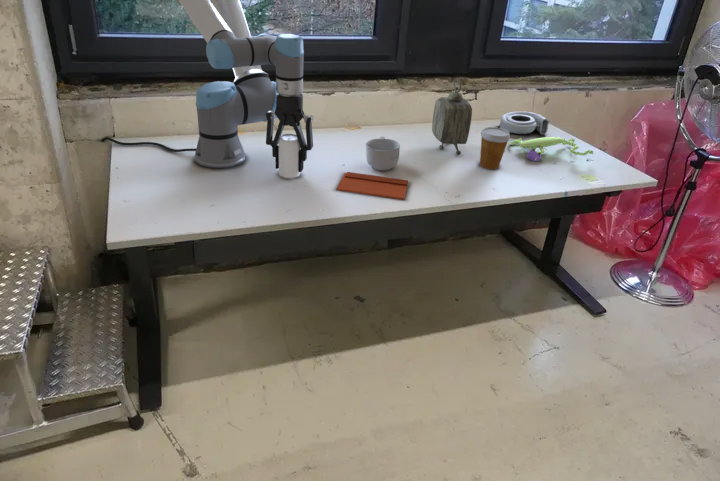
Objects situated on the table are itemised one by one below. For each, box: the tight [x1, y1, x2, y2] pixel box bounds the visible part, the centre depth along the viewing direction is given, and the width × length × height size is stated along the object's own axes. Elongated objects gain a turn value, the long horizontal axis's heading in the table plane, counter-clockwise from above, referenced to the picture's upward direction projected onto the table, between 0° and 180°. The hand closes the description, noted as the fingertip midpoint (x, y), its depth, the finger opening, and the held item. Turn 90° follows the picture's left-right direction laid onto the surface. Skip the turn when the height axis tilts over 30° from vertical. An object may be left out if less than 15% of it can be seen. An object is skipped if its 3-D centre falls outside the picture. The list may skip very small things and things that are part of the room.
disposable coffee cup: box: [479, 126, 511, 170], centre depth 178 cm, size 10×10×12 cm
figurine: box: [508, 136, 594, 162], centre depth 193 cm, size 18×27×6 cm
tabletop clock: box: [431, 77, 473, 156], centre depth 185 cm, size 14×9×25 cm, turn 9°
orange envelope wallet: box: [336, 171, 409, 201], centre depth 161 cm, size 20×12×1 cm, turn 79°
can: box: [278, 133, 301, 179], centre depth 161 cm, size 6×6×12 cm
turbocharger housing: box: [499, 111, 550, 135], centre depth 215 cm, size 17×6×15 cm
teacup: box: [365, 136, 401, 171], centre depth 174 cm, size 14×11×8 cm
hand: (289, 168), depth 163 cm, fingers closed on can, 6 cm apart
